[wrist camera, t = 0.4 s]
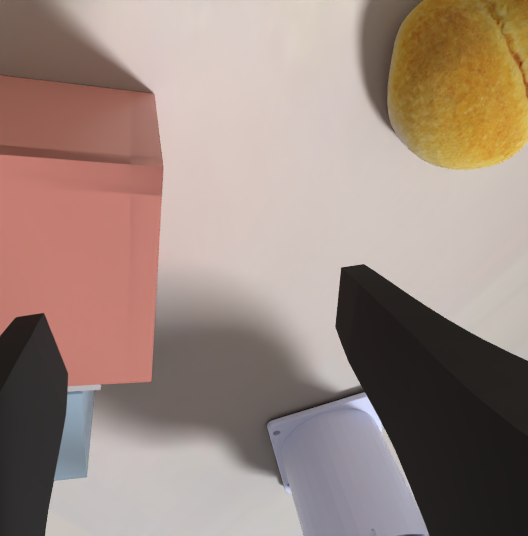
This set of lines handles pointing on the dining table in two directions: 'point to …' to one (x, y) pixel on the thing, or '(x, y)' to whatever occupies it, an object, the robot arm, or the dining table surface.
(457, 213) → the dining table surface
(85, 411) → the blue-grey rectangular box
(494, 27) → the bread roll
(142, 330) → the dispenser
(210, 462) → the dining table surface
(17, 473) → the robot arm
